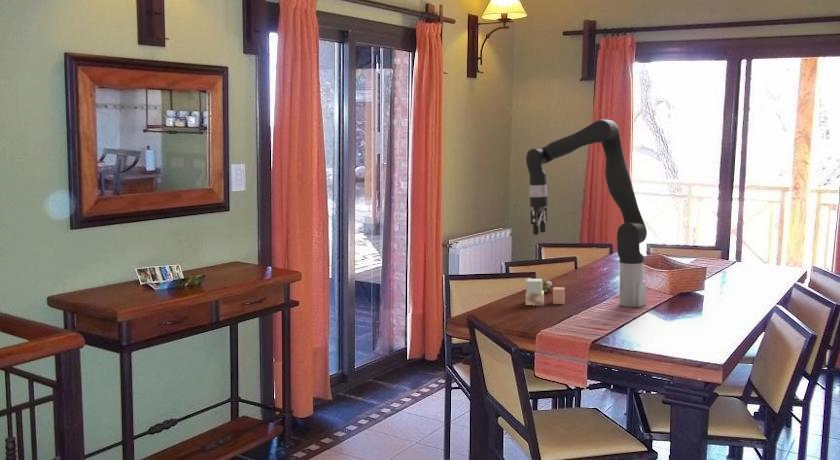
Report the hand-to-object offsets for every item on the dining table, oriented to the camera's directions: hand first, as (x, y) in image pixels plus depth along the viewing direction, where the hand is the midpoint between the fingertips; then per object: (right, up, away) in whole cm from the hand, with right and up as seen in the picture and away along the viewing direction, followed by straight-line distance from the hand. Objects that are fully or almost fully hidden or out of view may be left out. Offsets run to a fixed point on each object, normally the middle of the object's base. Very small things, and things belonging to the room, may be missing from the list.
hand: (539, 233), depth 333 cm
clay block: (+6, -28, -14) cm, 32 cm away
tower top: (-4, -24, -15) cm, 29 cm away
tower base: (-4, -29, -15) cm, 32 cm away
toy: (+2, -27, +5) cm, 27 cm away
